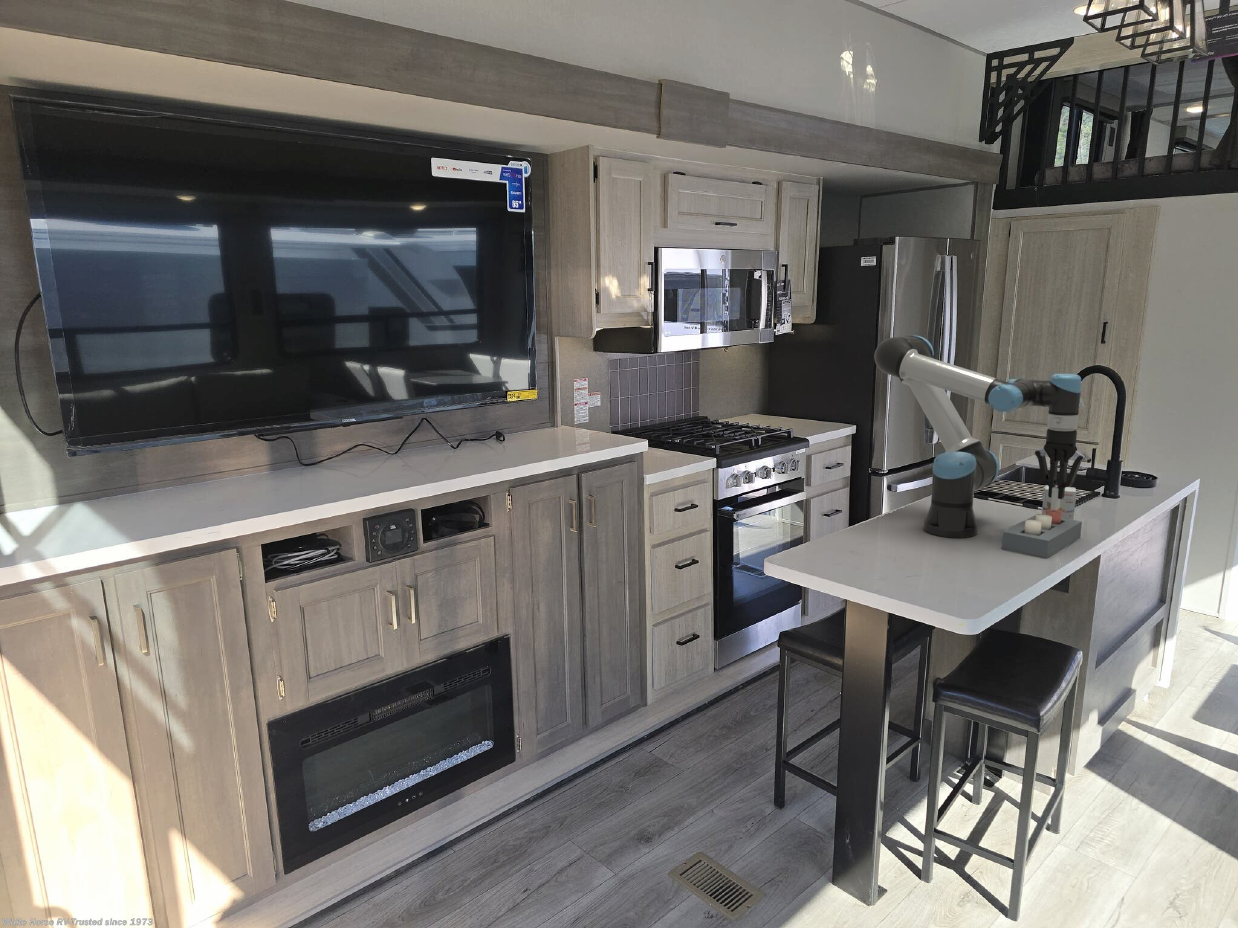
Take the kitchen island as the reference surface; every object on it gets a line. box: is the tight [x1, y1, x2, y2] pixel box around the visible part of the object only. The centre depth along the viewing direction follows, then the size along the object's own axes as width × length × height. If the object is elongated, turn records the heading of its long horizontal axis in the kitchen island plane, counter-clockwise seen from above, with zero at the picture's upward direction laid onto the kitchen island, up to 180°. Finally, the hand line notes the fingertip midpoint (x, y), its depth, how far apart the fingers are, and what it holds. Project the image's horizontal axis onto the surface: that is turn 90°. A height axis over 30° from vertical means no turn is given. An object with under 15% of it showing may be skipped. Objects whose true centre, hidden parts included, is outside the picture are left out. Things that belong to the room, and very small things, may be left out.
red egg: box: [1046, 509, 1062, 524], centre depth 228 cm, size 4×4×5 cm
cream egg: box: [1035, 513, 1052, 530], centre depth 223 cm, size 4×4×5 cm
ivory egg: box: [1024, 519, 1042, 536], centre depth 219 cm, size 4×4×5 cm
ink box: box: [1041, 484, 1077, 520], centre depth 240 cm, size 8×5×12 cm, turn 62°
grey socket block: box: [1001, 513, 1083, 559], centre depth 224 cm, size 25×12×5 cm, turn 132°
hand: (1055, 508), depth 227 cm, fingers closed
